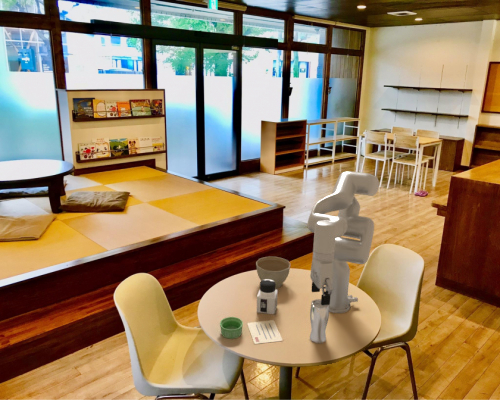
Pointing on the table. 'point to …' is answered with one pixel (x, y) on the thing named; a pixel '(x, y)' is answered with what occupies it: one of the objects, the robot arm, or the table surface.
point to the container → (267, 297)
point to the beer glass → (318, 321)
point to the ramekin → (231, 327)
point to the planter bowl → (273, 269)
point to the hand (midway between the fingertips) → (320, 298)
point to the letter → (264, 332)
